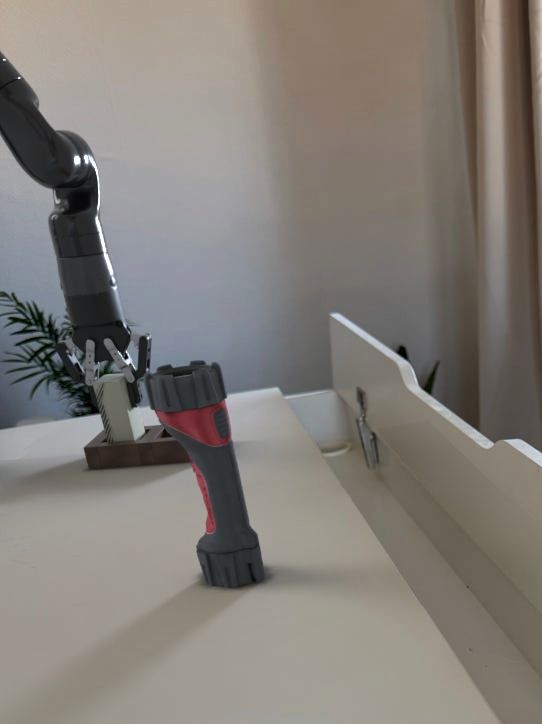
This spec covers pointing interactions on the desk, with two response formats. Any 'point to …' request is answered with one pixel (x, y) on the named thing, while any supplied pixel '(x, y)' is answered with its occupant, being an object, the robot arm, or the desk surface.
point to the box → (118, 409)
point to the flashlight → (209, 467)
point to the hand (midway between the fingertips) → (119, 407)
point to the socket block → (135, 450)
